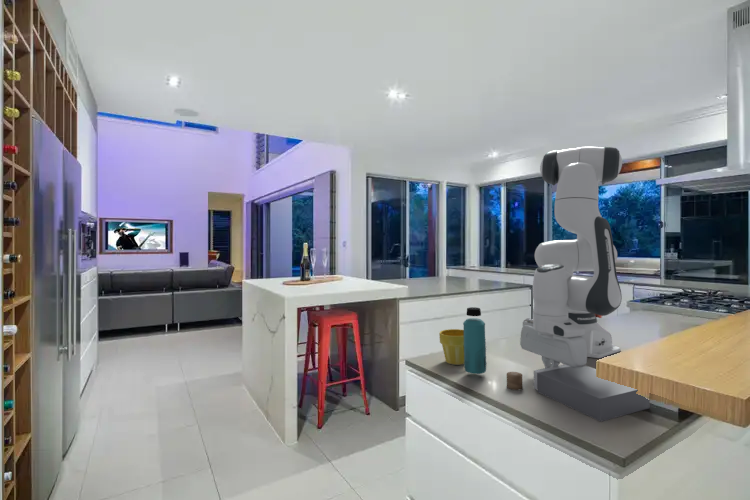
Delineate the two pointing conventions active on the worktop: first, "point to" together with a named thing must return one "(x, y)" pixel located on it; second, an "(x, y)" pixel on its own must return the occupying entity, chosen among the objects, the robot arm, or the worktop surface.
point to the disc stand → (514, 381)
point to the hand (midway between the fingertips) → (550, 373)
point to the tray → (544, 371)
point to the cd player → (590, 393)
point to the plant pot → (453, 345)
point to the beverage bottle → (474, 343)
